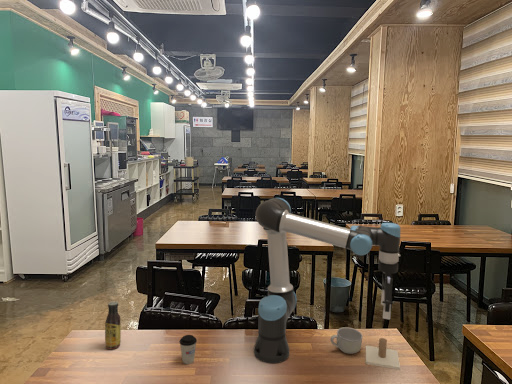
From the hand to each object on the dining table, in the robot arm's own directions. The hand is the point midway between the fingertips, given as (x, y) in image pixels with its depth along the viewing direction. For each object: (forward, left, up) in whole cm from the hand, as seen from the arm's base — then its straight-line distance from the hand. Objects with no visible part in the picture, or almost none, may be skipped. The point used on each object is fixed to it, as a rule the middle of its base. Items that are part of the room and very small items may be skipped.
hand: (385, 311), depth 151 cm
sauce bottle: (-112, -27, -21) cm, 117 cm away
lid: (0, 0, -20) cm, 20 cm away
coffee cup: (-76, -26, -21) cm, 83 cm away
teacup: (-15, +2, -21) cm, 26 cm away
